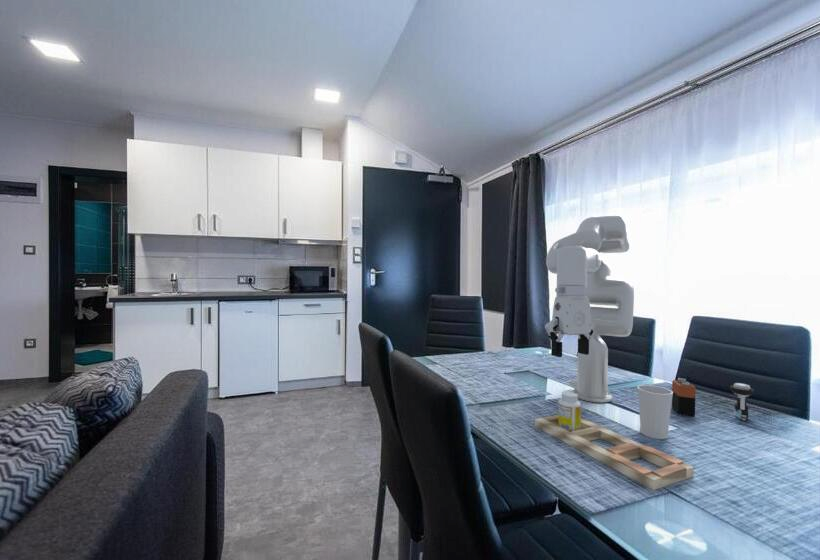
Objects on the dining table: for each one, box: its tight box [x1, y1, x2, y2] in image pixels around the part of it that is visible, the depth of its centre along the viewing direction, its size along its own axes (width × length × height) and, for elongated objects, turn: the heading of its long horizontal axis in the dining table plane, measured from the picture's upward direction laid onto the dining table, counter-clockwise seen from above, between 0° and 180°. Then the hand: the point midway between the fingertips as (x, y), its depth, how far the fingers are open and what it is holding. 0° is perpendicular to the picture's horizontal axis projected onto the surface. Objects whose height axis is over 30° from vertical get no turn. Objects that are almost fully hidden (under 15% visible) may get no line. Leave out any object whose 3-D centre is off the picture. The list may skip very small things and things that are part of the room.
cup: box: [636, 384, 673, 440], centre depth 98 cm, size 8×8×12 cm
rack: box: [534, 414, 695, 491], centre depth 90 cm, size 33×13×2 cm, turn 23°
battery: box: [671, 377, 697, 417], centre depth 115 cm, size 4×7×10 cm, turn 160°
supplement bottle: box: [557, 391, 582, 432], centre depth 99 cm, size 6×6×10 cm
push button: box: [729, 382, 755, 421], centre depth 110 cm, size 7×5×10 cm
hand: (570, 354), depth 99 cm, fingers open, 9 cm apart
